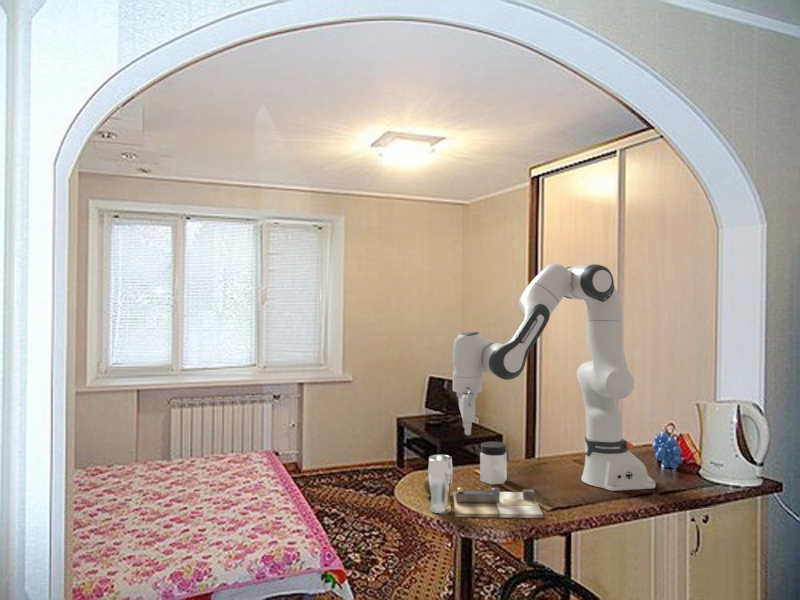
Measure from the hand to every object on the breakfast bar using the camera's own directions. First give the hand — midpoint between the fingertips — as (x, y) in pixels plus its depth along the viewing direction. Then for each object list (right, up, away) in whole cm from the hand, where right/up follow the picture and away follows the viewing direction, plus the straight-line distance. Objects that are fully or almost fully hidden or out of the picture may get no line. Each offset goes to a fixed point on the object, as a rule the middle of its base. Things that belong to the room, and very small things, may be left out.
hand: (466, 430), depth 176 cm
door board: (+8, -20, -8) cm, 23 cm away
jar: (+11, -20, +15) cm, 27 cm away
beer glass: (-9, -20, -11) cm, 25 cm away
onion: (-9, -20, +1) cm, 22 cm away
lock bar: (+2, -19, -7) cm, 20 cm away
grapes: (+73, -20, +28) cm, 81 cm away
